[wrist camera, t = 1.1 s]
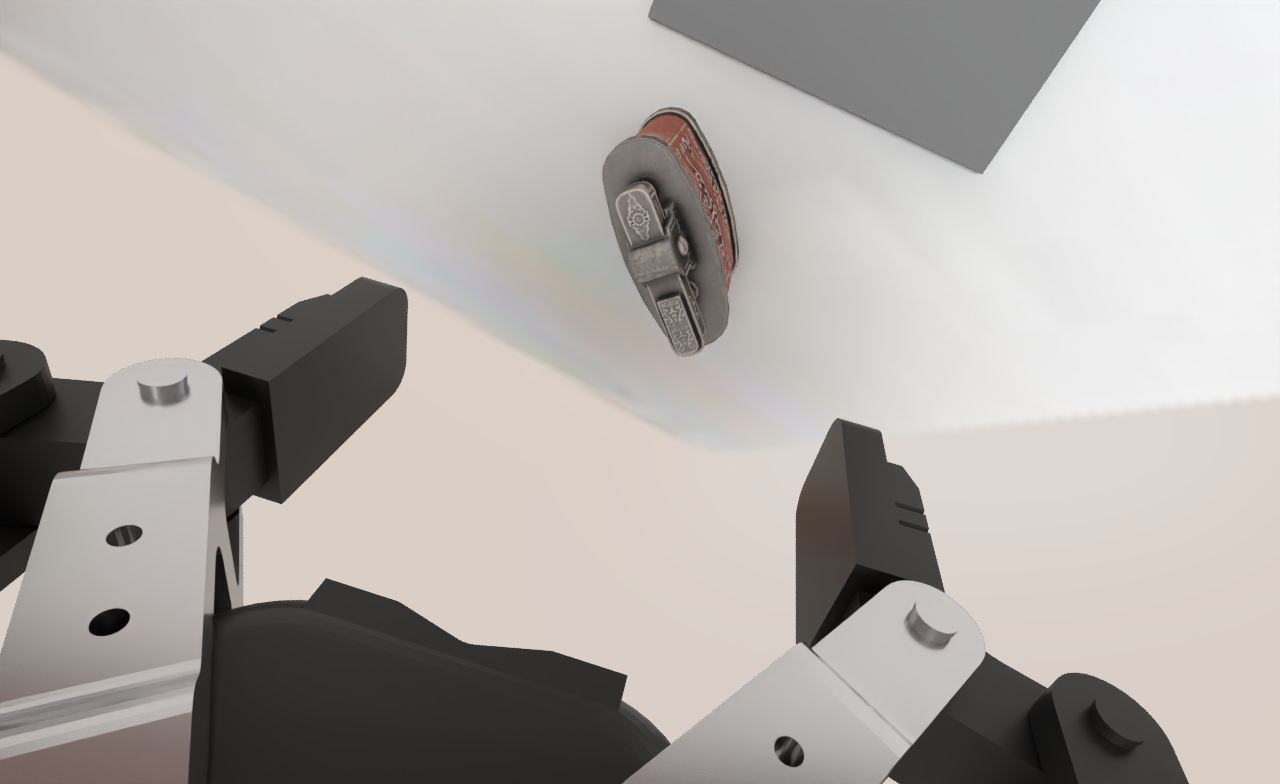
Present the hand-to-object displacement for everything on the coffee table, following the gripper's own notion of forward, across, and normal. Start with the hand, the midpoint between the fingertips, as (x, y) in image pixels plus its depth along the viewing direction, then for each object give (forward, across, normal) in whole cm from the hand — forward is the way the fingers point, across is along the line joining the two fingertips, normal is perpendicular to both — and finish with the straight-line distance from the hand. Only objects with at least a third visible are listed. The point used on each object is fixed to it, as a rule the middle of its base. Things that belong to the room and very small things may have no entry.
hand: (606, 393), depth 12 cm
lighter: (+21, +1, +2) cm, 21 cm away
